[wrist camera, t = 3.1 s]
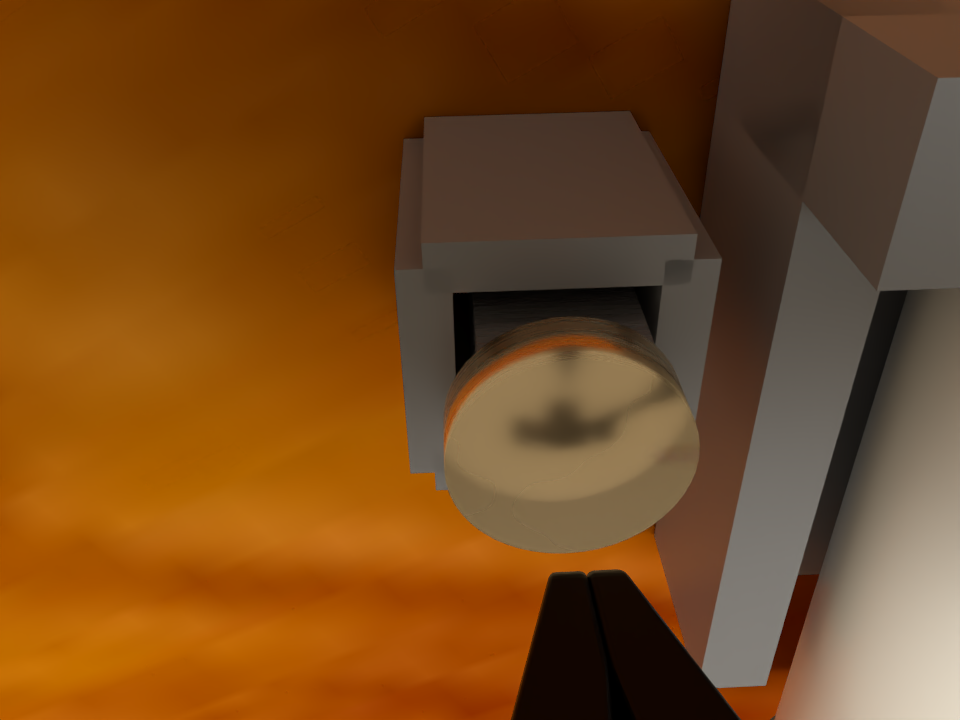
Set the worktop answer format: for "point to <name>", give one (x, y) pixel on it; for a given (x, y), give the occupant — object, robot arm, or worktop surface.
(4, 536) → the worktop surface
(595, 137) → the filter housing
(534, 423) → the release plunger
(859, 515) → the cylinder
